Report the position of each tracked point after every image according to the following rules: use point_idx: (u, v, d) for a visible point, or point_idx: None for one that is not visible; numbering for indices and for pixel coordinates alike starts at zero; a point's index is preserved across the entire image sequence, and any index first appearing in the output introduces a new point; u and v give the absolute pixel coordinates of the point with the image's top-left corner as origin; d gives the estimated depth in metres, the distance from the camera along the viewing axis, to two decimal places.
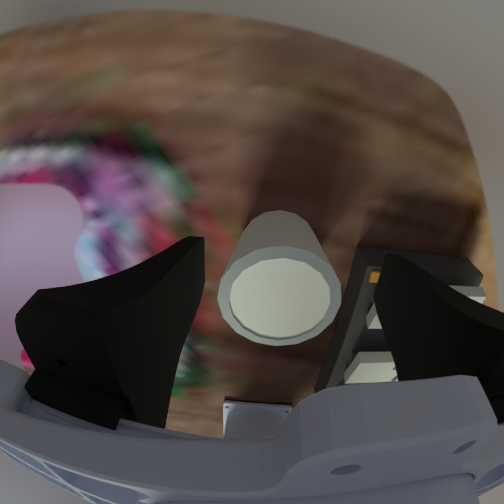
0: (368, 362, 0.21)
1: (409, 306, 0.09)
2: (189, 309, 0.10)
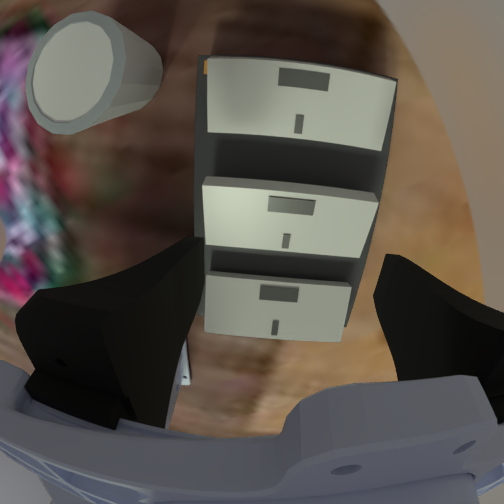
0: (215, 186, 0.15)
1: (409, 306, 0.09)
2: (189, 309, 0.10)
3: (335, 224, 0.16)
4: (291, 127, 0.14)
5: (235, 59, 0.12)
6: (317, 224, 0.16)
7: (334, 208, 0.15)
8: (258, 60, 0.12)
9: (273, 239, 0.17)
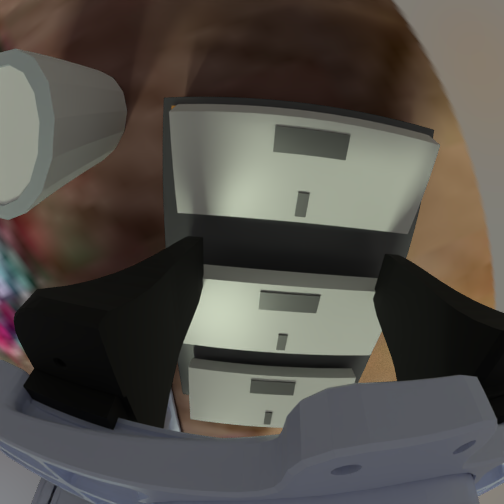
0: None
1: (408, 306, 0.09)
2: (188, 309, 0.10)
3: (343, 321, 0.12)
4: (291, 208, 0.11)
5: (209, 112, 0.09)
6: (321, 322, 0.13)
7: (343, 303, 0.12)
8: (244, 113, 0.09)
9: (266, 340, 0.13)
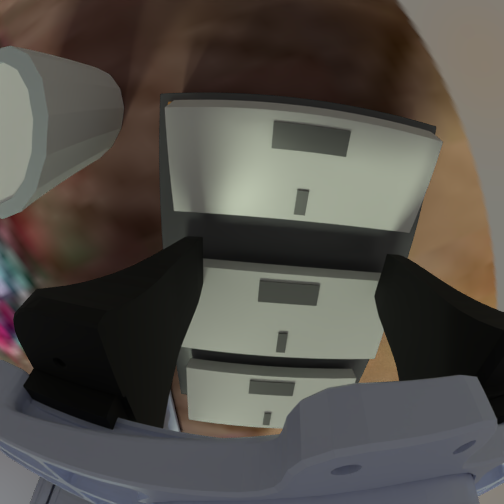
0: None
1: (410, 306, 0.09)
2: (188, 309, 0.10)
3: (344, 316, 0.12)
4: (290, 206, 0.11)
5: (206, 108, 0.08)
6: (322, 318, 0.12)
7: (343, 294, 0.12)
8: (241, 109, 0.08)
9: (265, 340, 0.13)
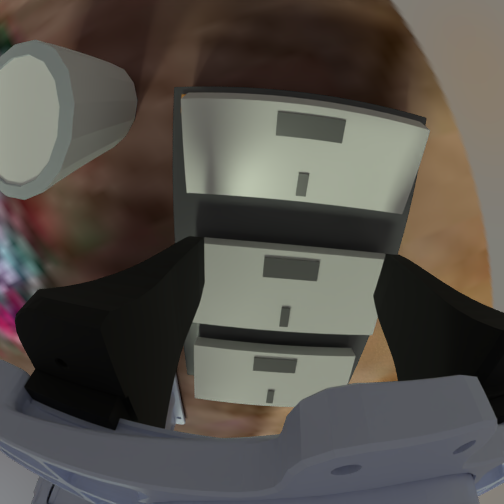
0: None
1: (409, 306, 0.09)
2: (189, 309, 0.10)
3: (343, 292, 0.13)
4: (292, 188, 0.12)
5: (218, 99, 0.09)
6: (322, 293, 0.13)
7: (341, 270, 0.13)
8: (249, 101, 0.09)
9: (269, 315, 0.14)
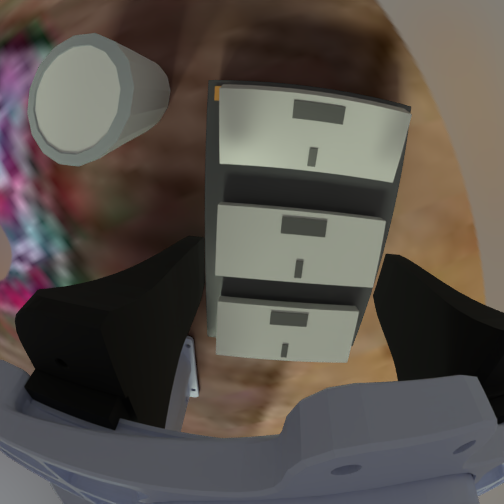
0: (231, 205, 0.16)
1: (409, 306, 0.09)
2: (189, 309, 0.10)
3: (347, 247, 0.16)
4: (304, 160, 0.14)
5: (248, 89, 0.12)
6: (329, 248, 0.16)
7: (345, 229, 0.16)
8: (272, 91, 0.12)
9: (285, 267, 0.17)
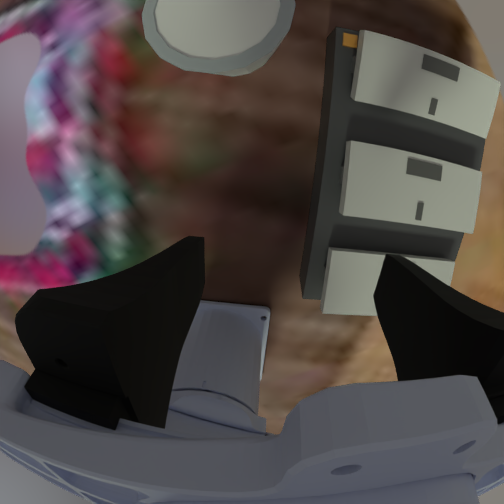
0: (363, 143, 0.14)
1: (409, 306, 0.09)
2: (189, 309, 0.10)
3: (456, 193, 0.15)
4: (427, 108, 0.13)
5: (389, 37, 0.11)
6: (443, 192, 0.15)
7: (454, 175, 0.14)
8: (408, 43, 0.11)
9: (409, 209, 0.15)
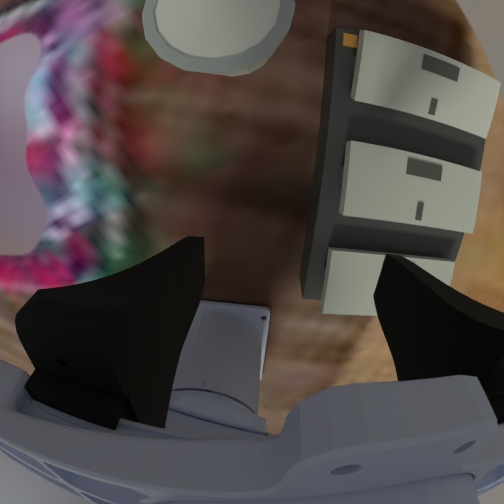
0: (363, 143, 0.14)
1: (409, 306, 0.09)
2: (189, 309, 0.10)
3: (456, 193, 0.15)
4: (427, 108, 0.13)
5: (389, 37, 0.11)
6: (443, 192, 0.15)
7: (454, 175, 0.14)
8: (408, 43, 0.11)
9: (409, 209, 0.15)
